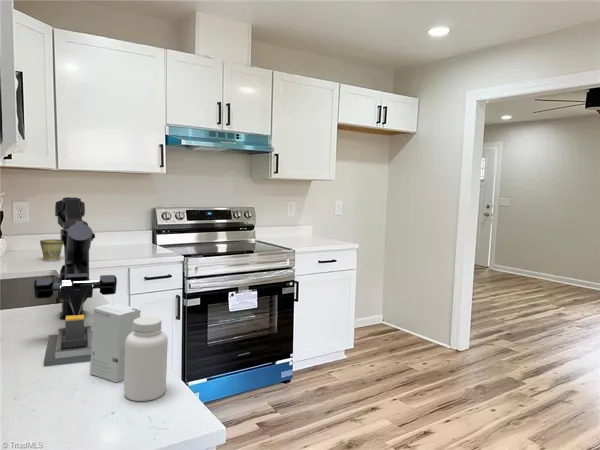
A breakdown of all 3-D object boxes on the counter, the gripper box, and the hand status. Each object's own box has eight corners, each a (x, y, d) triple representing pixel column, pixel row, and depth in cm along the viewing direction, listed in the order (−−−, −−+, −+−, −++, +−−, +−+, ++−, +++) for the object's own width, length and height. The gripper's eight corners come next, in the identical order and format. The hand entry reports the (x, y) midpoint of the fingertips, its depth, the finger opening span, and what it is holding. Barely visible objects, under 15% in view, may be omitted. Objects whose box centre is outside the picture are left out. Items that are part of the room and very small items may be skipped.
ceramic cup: (53, 263, 211) (53, 242, 210) (35, 261, 212) (35, 240, 211) (71, 258, 223) (71, 239, 222) (54, 257, 225) (54, 238, 224)
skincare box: (89, 374, 94) (90, 307, 93) (111, 365, 100) (112, 301, 99) (118, 384, 91) (119, 314, 90) (139, 373, 96) (141, 307, 95)
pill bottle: (149, 406, 83) (151, 328, 81) (114, 397, 85) (116, 322, 84) (174, 388, 90) (176, 317, 89) (141, 381, 93) (143, 311, 92)
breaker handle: (63, 342, 108) (63, 315, 107) (86, 340, 110) (86, 313, 110) (62, 348, 104) (63, 320, 104) (86, 345, 107) (86, 318, 106)
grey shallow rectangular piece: (49, 339, 113) (49, 328, 113) (100, 334, 118) (100, 324, 118) (43, 366, 97) (43, 354, 97) (102, 359, 102) (103, 348, 102)
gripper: (113, 278, 127) (115, 327, 118) (38, 282, 119) (34, 334, 110) (115, 256, 119) (118, 306, 110) (36, 257, 111) (31, 312, 102)
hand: (76, 315), depth 108 cm, fingers closed, pressing on breaker handle
